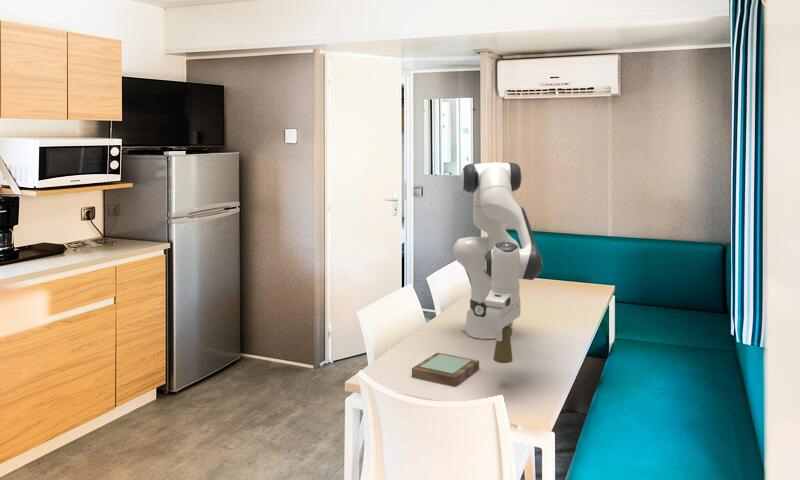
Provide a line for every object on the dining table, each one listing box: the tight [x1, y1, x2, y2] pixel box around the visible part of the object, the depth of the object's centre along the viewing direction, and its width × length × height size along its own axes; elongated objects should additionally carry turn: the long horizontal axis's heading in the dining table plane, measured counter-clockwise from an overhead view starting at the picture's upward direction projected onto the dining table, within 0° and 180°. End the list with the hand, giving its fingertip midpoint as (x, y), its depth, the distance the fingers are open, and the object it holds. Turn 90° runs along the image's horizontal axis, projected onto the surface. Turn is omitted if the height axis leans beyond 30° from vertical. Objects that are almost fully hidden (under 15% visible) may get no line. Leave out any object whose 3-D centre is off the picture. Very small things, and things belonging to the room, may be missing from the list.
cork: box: [493, 326, 513, 364], centre depth 205 cm, size 6×6×11 cm
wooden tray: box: [411, 352, 480, 387], centre depth 217 cm, size 18×16×3 cm
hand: (503, 337), depth 205 cm, fingers closed on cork, 5 cm apart
